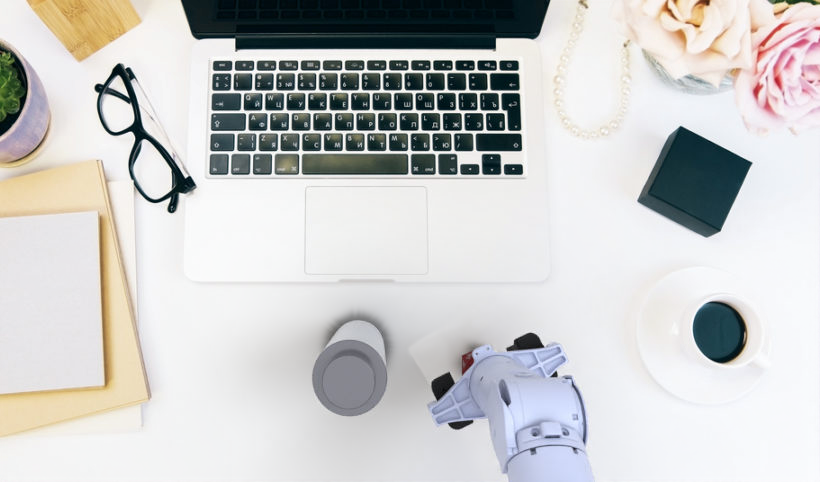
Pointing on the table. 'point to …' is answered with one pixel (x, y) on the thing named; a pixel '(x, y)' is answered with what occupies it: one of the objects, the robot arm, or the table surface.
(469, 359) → the dice
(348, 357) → the grey-lidded white canister
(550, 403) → the robot arm
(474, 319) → the table surface
